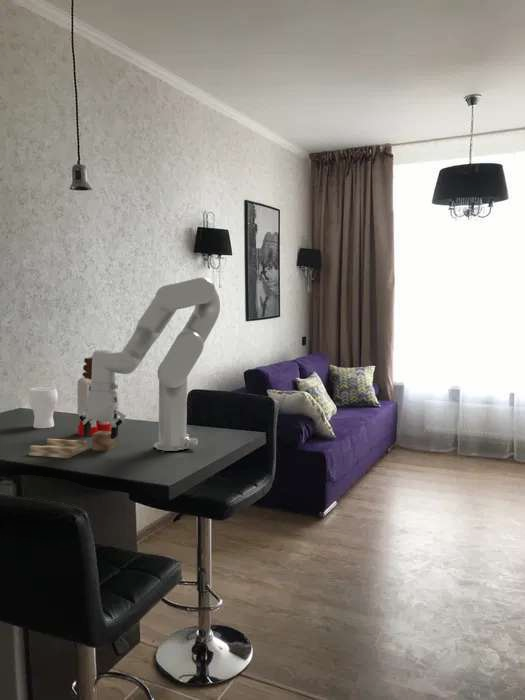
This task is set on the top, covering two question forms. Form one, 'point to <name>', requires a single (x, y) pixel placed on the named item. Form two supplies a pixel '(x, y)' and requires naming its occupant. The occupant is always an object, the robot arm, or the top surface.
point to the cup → (43, 406)
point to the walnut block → (103, 441)
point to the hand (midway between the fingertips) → (100, 436)
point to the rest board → (59, 448)
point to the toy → (82, 396)
